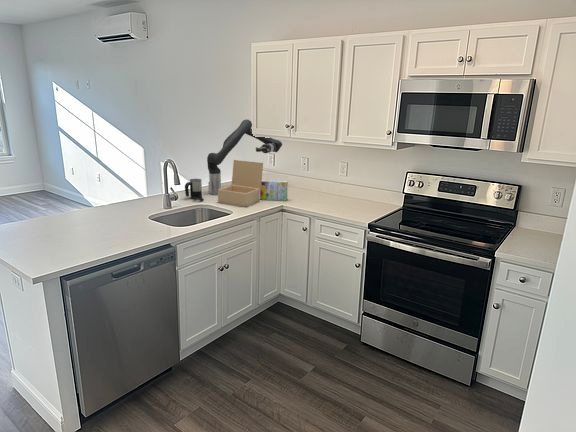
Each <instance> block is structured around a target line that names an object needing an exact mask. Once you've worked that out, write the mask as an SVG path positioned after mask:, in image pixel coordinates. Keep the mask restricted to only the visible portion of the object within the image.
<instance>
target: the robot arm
mask: <svg viewBox="0 0 576 432" xmlns="http://www.w3.org/2000/svg"><path fill="white" fill-rule="evenodd" d="M252 127H253V123H252V121H251V120H250V119H244V120H242V121H241V122H240V124H239V126H238V127H237V128H236V129H235V130H234V131H233V132H232V133H230V134H229V135H228V136H227V137H226V139H225V140H224V141H223V144H222V148H220V150H219V151H218V152H217V153H215V152H210V153H208V155H207V157H206V158H207V159H206V161H207V169H208V177H209V178H208V180H209V181H208V183H207V185H208V194H209V195H212V196H213V195H214V196H218V190H219V189H222V179H221V177H222V176H221V174H222V173H221V168H219V167H218V166H219V165H221V164H222V163H223V161H224V160H225V158H226V157H227V155H229V154H230V152H231V151H232V150H233V149H234V148H235V147H236V146H237V145H238V144H239V142H240V141H241V140H242V138H243V136H244V135H247V136H250V137H252V138H254V139H256V140H258V141H260V142H262V143H263V144H262V145H261V146H259V147H257V146H256V147H255V152H257V153H263V154H269V153H272V152H274V153H278V152H279V151H280V150H281V148H282V146H283V143H282V141H280V140H278V139H276V138H275V139H274V138H272V137H270V138H265V137H255V136H253V134H252Z"/></svg>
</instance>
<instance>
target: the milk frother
mask: <svg viewBox="0 0 576 432" xmlns="http://www.w3.org/2000/svg"><path fill="white" fill-rule="evenodd" d="M202 180H203V179H201V178H191V179H189V181H187V182H186V183H185V184H184V192H185V196H186V197H187V198H188V197H189V196H190V197H189V198H190V199H191V200H198V201H200V202H202V201H204V200H205V199H204V198H203V192H202V191H203V189H202ZM189 189H190V190H189Z"/></svg>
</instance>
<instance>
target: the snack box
mask: <svg viewBox="0 0 576 432" xmlns="http://www.w3.org/2000/svg"><path fill="white" fill-rule="evenodd" d="M288 182H289V181H288V180H270V179H262V182H261V189H260V200H261V201H262V200H264V201H279V202H280V201H283V202H284V201H285V202H286V201H288V190H289V189H288V186H289V184H288Z"/></svg>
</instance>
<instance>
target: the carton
mask: <svg viewBox="0 0 576 432" xmlns="http://www.w3.org/2000/svg"><path fill="white" fill-rule="evenodd" d="M217 202H218V203H219V204H224V205H231V206H235V207H236V206H237V207H245V208H249V207H251V206H253V205H255V204H258V203H260V189H259V188H252V187H245V186H237V185H232V184H231V185H228V186H226V187H221V189H219V190H218V195H217Z"/></svg>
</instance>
